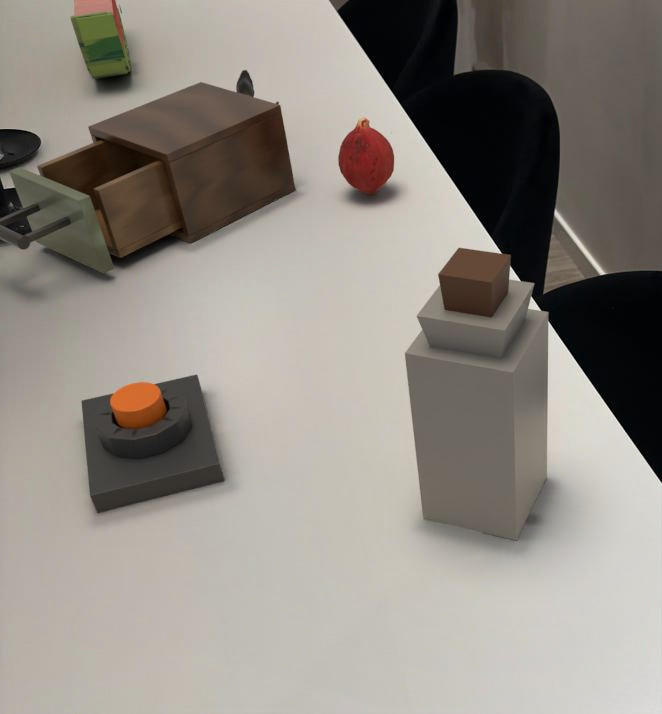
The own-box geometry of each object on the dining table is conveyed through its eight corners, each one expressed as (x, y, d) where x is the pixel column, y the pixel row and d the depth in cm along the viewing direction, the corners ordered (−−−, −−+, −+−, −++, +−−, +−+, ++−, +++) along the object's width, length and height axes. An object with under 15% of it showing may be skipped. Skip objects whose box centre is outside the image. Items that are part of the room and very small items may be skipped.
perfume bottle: (516, 540, 64) (511, 303, 52) (423, 519, 66) (397, 285, 54) (547, 477, 69) (549, 244, 56) (458, 458, 71) (442, 230, 58)
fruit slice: (88, 41, 146) (65, -32, 139) (130, 36, 147) (110, -38, 140) (92, 100, 128) (66, 19, 121) (140, 93, 129) (117, 12, 122)
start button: (115, 407, 72) (108, 388, 71) (164, 396, 73) (157, 377, 71) (118, 435, 69) (111, 416, 68) (169, 423, 70) (163, 404, 69)
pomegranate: (384, 209, 101) (375, 132, 95) (334, 203, 102) (323, 127, 97) (405, 185, 105) (398, 110, 99) (357, 180, 106) (347, 106, 101)
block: (88, 417, 76) (73, 381, 74) (202, 391, 78) (191, 355, 76) (97, 513, 68) (81, 476, 66) (224, 481, 70) (213, 443, 68)
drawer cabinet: (190, 243, 97) (166, 154, 91) (115, 212, 103) (87, 126, 97) (295, 189, 105) (280, 104, 99) (220, 163, 111) (201, 81, 105)
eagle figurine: (299, 125, 115) (266, 89, 120) (263, 84, 109) (230, 48, 114) (253, 170, 116) (223, 133, 121) (215, 132, 110) (184, 95, 115)
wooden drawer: (53, 299, 88) (23, 225, 83) (-15, 265, 94) (-46, 193, 89) (214, 219, 99) (196, 148, 94) (145, 192, 104) (125, 124, 99)
